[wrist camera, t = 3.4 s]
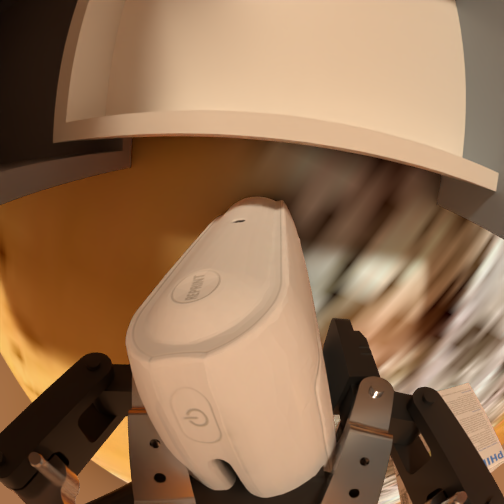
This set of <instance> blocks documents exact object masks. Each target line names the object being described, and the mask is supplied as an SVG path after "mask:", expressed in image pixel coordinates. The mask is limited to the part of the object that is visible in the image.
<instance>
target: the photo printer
mask: <svg viewBox="0 0 504 504" xmlns="http://www.w3.org/2000/svg"><path fill="white" fill-rule="evenodd" d="M126 349H127V354H128V358H129V362H130V366H131V370H132V374H133V378H134V381H135V384H136V387H137V390H138V393H139V395H140V398H141V400H142V403H143V405H144V407H145V409H146V411H147V414H148V416H149V418H150V420H151V422H152V424H153V425H154V427H155V429H156V431H157V432H158V434H159V436H160V437H161V439H162V441H163V442H164V444H165V445H166V447H167V448H168V449H169V450H170V452H171V453H172V454H173V455H174V456H175V457H176V458H177V459H178V460H179V461H180V462H181V463H182V464H183V465H185V466H186V467H187V469H188V472H189V474H190V475H191V476H192V477H193V478H195V479H196V480H198V481H199V482H201V483H202V484H204V485H205V486H207V487H208V488H210V489H213V490H227V489H230V488H231V487H232V486H233V484H234V483H235V481H236V476H237V475H238V477H239V479H240V480H241V482H242V483H243V484H244V486H245V487H246V489H247V490H248V491H249V492H250V493H251V494H253V495H255V496H258V497H262V498H268V497H273V496H277V495H282V494H284V493H287V492H289V491H291V490H293V489H295V488H297V487H299V486H301V485H302V484H304V483H305V482H307V481H308V480H310V479H311V478H312V477H313V476H315V475H316V474H317V473H318V471H319V470H320V468H321V467H322V466H323V465H324V471H326V472H330V473H331V470H332V458H333V455H334V452H335V448H336V444H337V443H336V433H335V423H334V416H333V410H332V404H331V397H330V391H329V385H328V379H327V374H326V368H325V362H324V357H323V351H322V345H321V340H320V334H319V328H318V323H317V317H316V312H315V307H314V301H313V296H312V291H311V286H310V282H309V277H308V272H307V268H306V264H305V260H304V255H303V252H302V248H301V244H300V239H299V237H298V234H297V230H296V227H295V224H294V221H293V219H292V216H291V214H290V212H289V210H288V208H287V206H286V204H285V202H284V201H283V200H280V201H276V202H275V201H274V200H272V199H269V198H266V197H259V196H256V197H248V198H244V199H242V200H240V201H238V202H236V203H235V204H233V205H232V206H231V207H230V208H229V209H228V211H227V212H226V213H225V214H224V215H221V216H218V217H217V218H215V219H214V220H213V221H212V222H211V223H210V224H209V225H208V226H207V227H206V229H205V230H204V231H203V232H202V233H201V234H200V235H199V237H198V238H197V239H196V240H195V241H194V242H193V244H192V245H191V246H190V247H189V248H188V249H187V250H186V251H185V253H184V254H183V255H182V256H181V257H180V259H179V260H178V261H177V262H176V263H175V264H174V266H173V267H172V268H171V269H170V270H169V271H168V272H167V274H166V275H165V276H164V277H163V279H162V280H161V281H160V282H159V284H158V285H157V286H156V287H155V288H154V290H153V291H152V292H151V293H150V295H149V296H148V297H147V299H146V300H145V301H144V302H143V303H142V305H141V306H140V307H139V308H138V310H137V311H136V312H135V314H134V315H133V317H132V319H131V322H130V324H129V327H128V330H127V333H126Z"/></svg>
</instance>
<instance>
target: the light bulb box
mask: <svg viewBox="0 0 504 504" xmlns="http://www.w3.org/2000/svg"><path fill="white" fill-rule="evenodd" d="M437 392H438V393H439V394H440V395H441V397H442V398H443V400H444V401H445V402H446V404H447V405H448V407H449V408H450V410H451V411H452V413H453V414H454V416H455V417H456V419H457V420H458V422H459V423H460V425H461V426H462V428H463V429H464V431H465V432H466V434H467V435H468V437H469V438H470V440H471V442H472V443H473V445H474V446H475V448H476V450H477V451H478V453H479V454H480V456H481V458H482V459H483V461H484V463H485V464H486V466H487V468H488V470H489V471H490V473H491V472H493V471H494V470H495V469H496V468H497V467H498V466H499V465H501V464H502V463H503V462H504V451H503V449H502V446H501V444H500V442H499V440H498V437H497V435H496V433H495V431H494V429H493V427H492V425H491V423H490V421H489V419H488V417H487V415H486V413H485V411H484V409H483V408H482V406H481V404H480V402H479V400H478V398H477V396H476V395H475V393H474V391H473V390H472V388H471V386H470V384H469V383H465V384H462V385H459V386H455V387H452V388H448V389H444V390H441V391H437ZM419 437H420V439H421V440H422V442H423V444H424V446H425V447H426V449H427V451H428V453H429V455H430V457H431V451H430V449H429V447H428V445H427V443H426V442H425V440H424V438H423V436H422V435H421V434H420V435H419ZM392 461H393V460H392ZM393 465H394V470H395V474H396V479H397V484H398V490H399V494H400V500H401V504H412V502H411V499H410V497H409V495H408V493H407V490H406V488H405V486H404V484H403V481H402V479H401V477H400V475H399V473H398V471H397V468H396V466H395V464H394V462H393Z"/></svg>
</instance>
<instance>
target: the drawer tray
mask: <svg viewBox="0 0 504 504" xmlns="http://www.w3.org/2000/svg"><path fill="white" fill-rule="evenodd" d="M155 136H200V137H226V138H242V139H255V140H266V141H276V142H285V143H293V144H301V145H308V146H315V147H322V148H328V149H334V150H340V151H346V152H351V153H356V154H361V155H366V156H371V157H375V158H380V159H384V160H389V161H393V162H397V163H401V164H405V165H409V166H413V167H416V168H420V169H424V170H427V171H431V172H434V173H437V174H441V175H442V176H441V183H440V188H439V194H438V199H437V205H439V206H441V207H443V208H445V209H447V210H450V211H452V212H454V213H456V214H458V215H460V216H462V217H464V218H466V219H468V220H470V221H471V222H473V223H475V224H477V225H479V226H481V227H483V228H485V229H486V230H488V231H490V232H492V233H494V234H495V235H497V236H499V237H500V238H502V239H504V0H78V1H77V4H76V7H75V10H74V14H73V17H72V20H71V24H70V27H69V31H68V35H67V39H66V43H65V47H64V52H63V57H62V62H61V67H60V73H59V80H58V86H57V94H56V103H55V114H54V128H53V143H59V142H70V141H83V140H100V139H114V138H129V137H155Z"/></svg>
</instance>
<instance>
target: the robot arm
mask: <svg viewBox="0 0 504 504" xmlns="http://www.w3.org/2000/svg"><path fill="white" fill-rule="evenodd" d="M323 357H324V362H325V368H326V374H327V379H328V385H329V391H330V397H331V404H332V410H333V415H340V419H341V420H340V422H339V423H338V425H337V428H336V431H335V433H336V443H337V444H336V448H335V452H334V455H333V458H332V470H331V473H330V472H326V471H324V465H323V466H322V467H321V468H320V470H319V471H318V473H317V474H316V475H315V476H313V477H312V478H311V479H310V480H308V481H307V482H305V483H304V484H302V485H301V486H299V487H297V488H295V489H293V490H291V491H289V492H287V493H284V494H282V495H277V496H273V497H268V498H262V497H258V496H255V495H253V494H251V493H250V492H249V491H248V490H247V489H246V487H245V486H244V484H243V483H242V482H241V480H240V479H239V477H238V475H237V476H236V481H235V483H234V484H233V486H232V487H231V488H230V489H227V490H213V489H210V488H208V487H207V486H205V485H204V484H202V483H201V482H199V481H198V480H196V479H195V478H193V477H192V476H191V475H190V474H189V472H188V469H187V467H186V466H185V465H183V464H182V463H181V462H180V461H179V460H178V459H177V458H176V457H175V456H174V455H173V454H172V453H171V452H170V450H169V449H168V448H167V447H166V445H165V444H164V442H163V441H162V439H161V437H160V436H159V434H158V432H157V431H156V429H155V427H154V425H153V424H152V422H151V420H150V418H149V416H148V414H147V411H146V409H145V407H144V405H143V403H142V400H141V398H140V395H139V393H138V390H137V387H136V384H135V381H134V378H133V374H132V370H131V366H130V364H129V365H121V364H112V362H111V360H110V358H109V357H108V356H107V355H105V354H102V353H90V354H87V355H85V356H83V357H82V358H81V359H80V360H79V361H77V362H76V363H75V364H74V365H73V366H72V367H71V368H70V369H68V370H67V371H66V372H65V373H64V374H63V375H62V376H61V377H60V378H59V379H57V380H56V381H55V382H54V383H53V384H52V385H51V386H50V387H49V388H48V389H46V390H45V391H44V392H43V393H42V394H41V395H40V396H39V397H38V398H37V399H36V400H35V401H34V402H32V403H31V404H30V405H29V406H28V407H27V408H26V409H25V410H24V411H23V412H22V413H21V414H20V415H19V416H18V417H17V418H16V419H15V420H14V421H13V422H11V424H9V425H8V426H7V427H6V428H5V429H4V430H3V431H2V432H1V433H0V481H1V482H2V483H3V484H4V485H5V486H6V487H7V488H9V489H10V490H11V491H13V492H14V493H16V494H18V496H19V497H20V498H21V499H22V500H23V501H24V502H25V503H26V504H75V498H76V496H77V495H78V493H79V488H80V483H79V479H78V477H77V475H78V474H79V473H80V472H81V470H82V469H83V468H84V467H85V465H86V464H87V463H88V462H89V461H90V459H91V458H92V457H93V456H94V454H95V453H96V452H97V451H98V449H99V448H100V447H101V446H102V445H103V443H104V442H105V441H106V440H107V438H108V437H109V436H110V435H111V433H112V432H113V431H114V430H115V429H116V427H117V426H118V425H119V424H120V422H121V421H122V420H123V419H124V417H125V416H128V437H129V456H130V469H131V479H132V482H130V483H128V484H126V485H124V486H122V487H120V488H118V489H116V490H114V491H112V492H110V493H108V494H106V495H104V496H102V497H99V498H97V499H95V500H93V501H90V502H88V503H86V504H377V503H378V500H379V497H380V493H381V490H382V486H383V482H384V479H385V475H386V470H387V466H388V462H389V457H390V456H391V458H392V460H393V462H394V464H395V466H396V468H397V471H398V473H399V475H400V477H401V479H402V481H403V484H404V486H405V488H406V490H407V493H408V495H409V497H410V499H411V502H412V504H504V497H503V495H502V493H501V491H500V489H499V487H498V486H497V484H496V482H495V480H494V478H493V477H492V475H491V473H490V471H489V470H488V468H487V466H486V464H485V463H484V461H483V459H482V458H481V456H480V454H479V453H478V451H477V450H476V448H475V446H474V445H473V443H472V442H471V440H470V438H469V437H468V435H467V434H466V432H465V431H464V429H463V428H462V426H461V425H460V423H459V422H458V420H457V419H456V417H455V416H454V414H453V413H452V411H451V410H450V408H449V407H448V405H447V404H446V402H445V401H444V400H443V398H442V397H441V395H440V394H439V393H438V392H437V391H436V390H434V389H432V388H429V387H421V388H418V389H417V390H416V391H415V392H414V393H413V395H409V394H404V393H399V392H395V391H394V389H393V387H392V385H391V384H390V383H389V382H388V381H387V380H385V379H383V378H380V375H379V372H378V369H377V367H376V364H375V361H374V358H373V355H371V350H370V348H369V345H368V342H367V339H366V338H365V337H364V336H363V335H362V333H361V332H360V331H353V328H352V325H351V322H350V320H349V319H337V318H333V319H332V320H331V323H330V326H329V330H328V333H327V337H326V340H325V343H324V347H323ZM420 434H421V435H422V436H423V438H424V440H425V442H426V443H427V445H428V447H429V449H430V451H431V457H430V455H429V453H428V451H427V449H426V447H425V446H424V444H423V442H422V440H421V439H420V437H419V435H420Z"/></svg>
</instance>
